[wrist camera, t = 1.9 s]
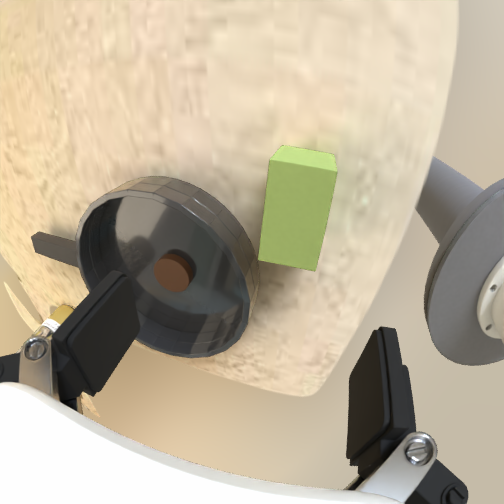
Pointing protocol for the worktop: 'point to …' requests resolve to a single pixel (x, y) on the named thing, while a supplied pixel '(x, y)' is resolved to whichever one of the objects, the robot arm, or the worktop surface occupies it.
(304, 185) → the sponge
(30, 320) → the worktop surface
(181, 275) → the brown disc
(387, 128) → the worktop surface
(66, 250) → the pan handle
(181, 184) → the pan
